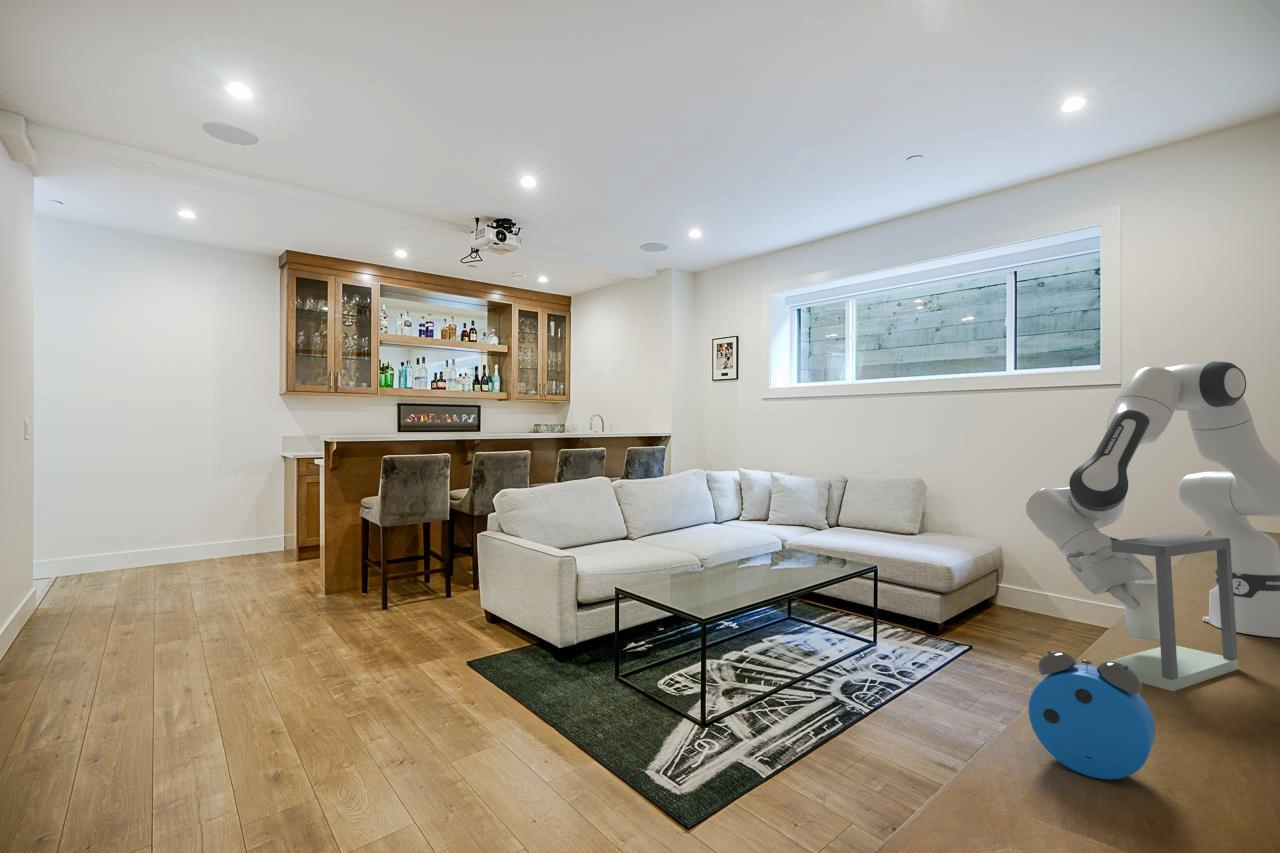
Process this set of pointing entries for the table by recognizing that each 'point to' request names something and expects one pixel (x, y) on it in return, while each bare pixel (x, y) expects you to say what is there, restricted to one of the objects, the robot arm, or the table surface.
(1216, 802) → the table surface
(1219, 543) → the grey frame
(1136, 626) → the white cylinder
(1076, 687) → the alarm clock
